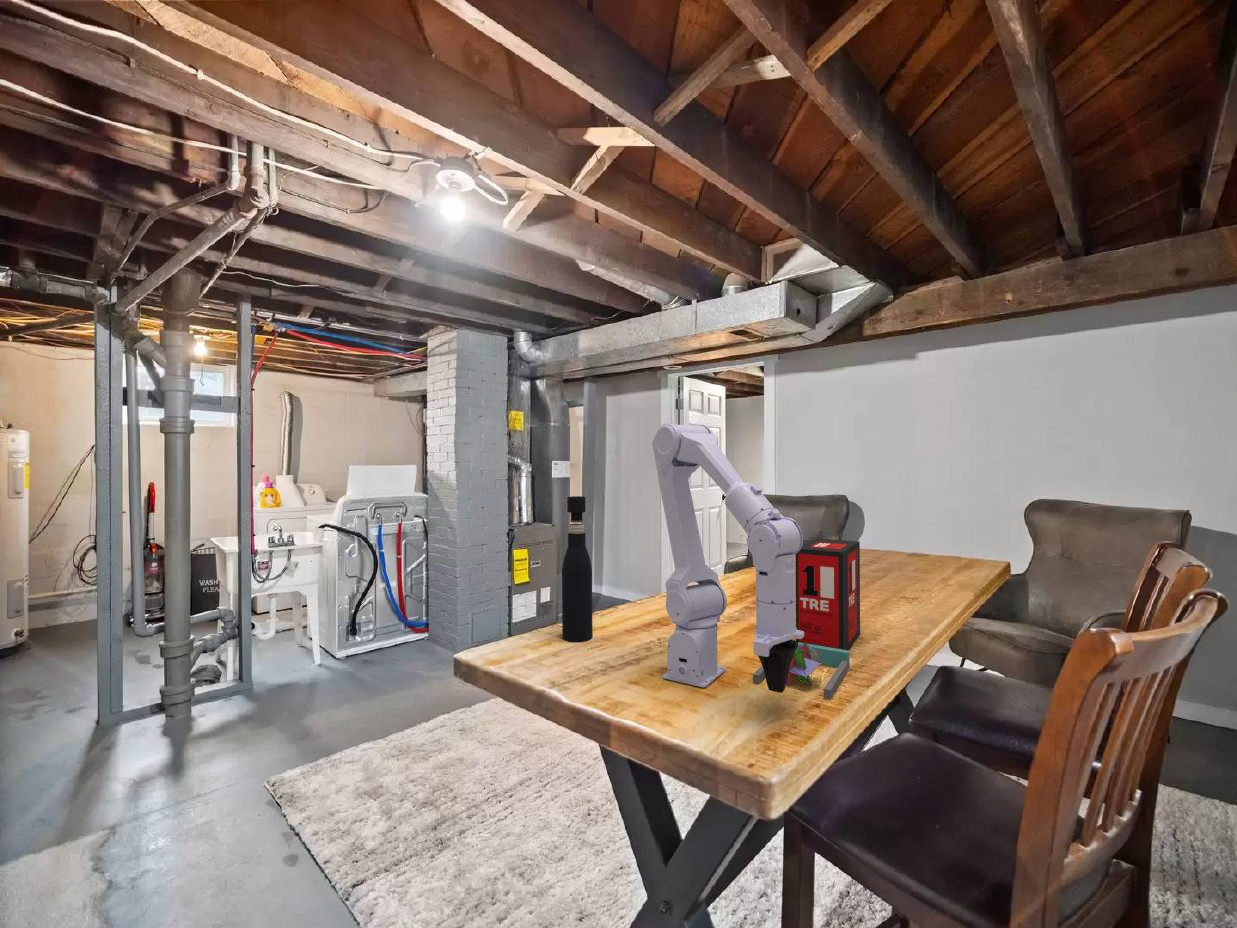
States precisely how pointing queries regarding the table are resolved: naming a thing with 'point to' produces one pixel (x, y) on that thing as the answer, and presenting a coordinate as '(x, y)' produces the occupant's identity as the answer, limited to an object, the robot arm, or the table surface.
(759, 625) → the robot arm
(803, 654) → the geometric puzzle
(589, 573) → the black water bottle
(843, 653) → the u-shaped frame
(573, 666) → the table surface
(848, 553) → the cleaning product box
